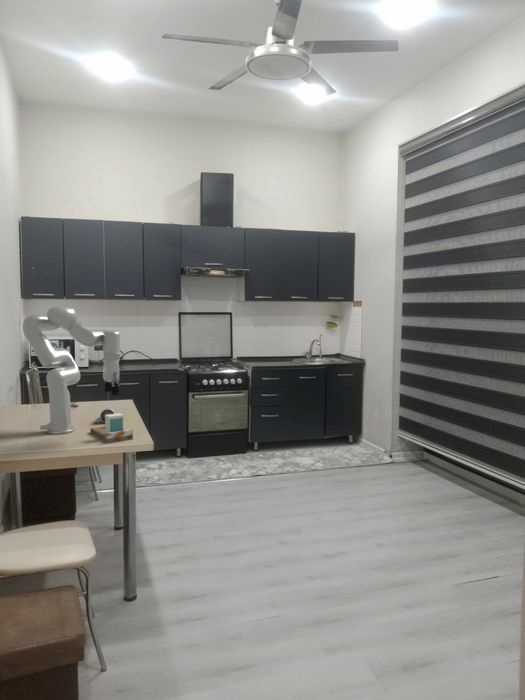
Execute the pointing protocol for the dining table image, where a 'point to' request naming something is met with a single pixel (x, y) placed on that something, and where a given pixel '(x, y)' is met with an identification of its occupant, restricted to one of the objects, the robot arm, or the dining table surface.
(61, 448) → the dining table surface
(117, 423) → the carton
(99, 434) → the shelf board
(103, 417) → the ceramic mug
